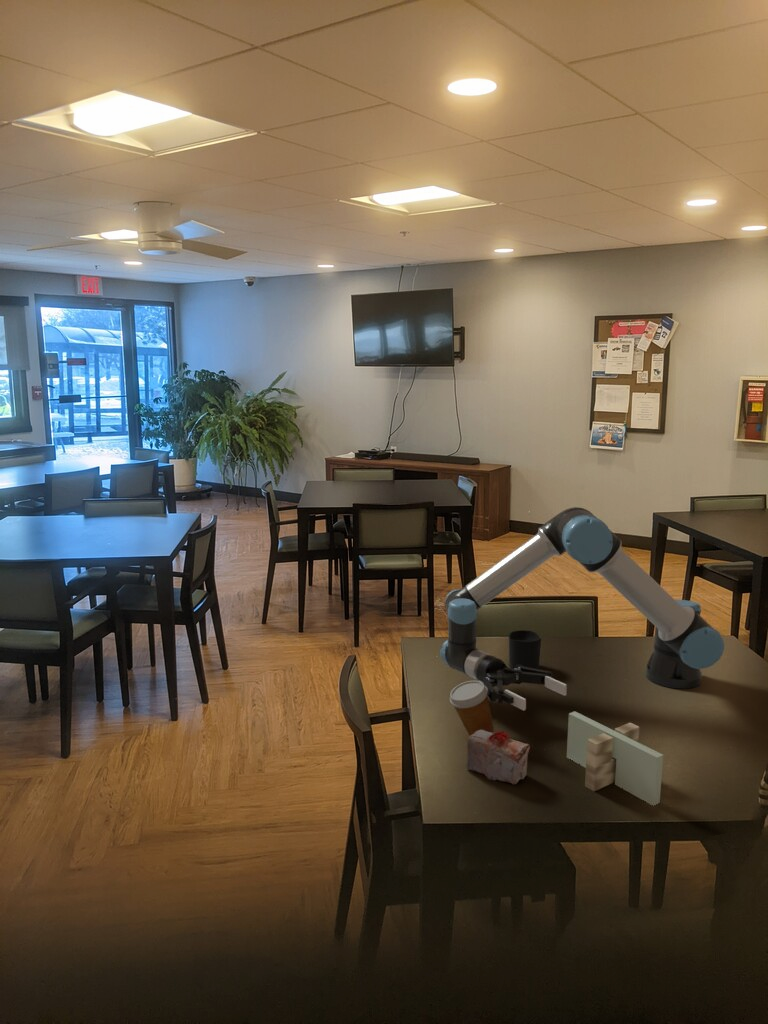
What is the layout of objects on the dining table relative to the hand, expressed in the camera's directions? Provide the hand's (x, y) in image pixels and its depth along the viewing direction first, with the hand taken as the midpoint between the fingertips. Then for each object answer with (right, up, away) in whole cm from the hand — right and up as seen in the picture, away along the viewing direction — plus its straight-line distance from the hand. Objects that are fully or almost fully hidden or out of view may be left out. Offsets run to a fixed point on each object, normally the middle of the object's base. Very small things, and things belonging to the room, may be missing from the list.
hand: (545, 697), depth 185 cm
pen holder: (+3, -2, +47) cm, 47 cm away
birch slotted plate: (+12, -15, -14) cm, 23 cm away
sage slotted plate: (+12, -15, -14) cm, 23 cm away
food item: (-13, -15, -11) cm, 23 cm away
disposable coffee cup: (-14, -10, +6) cm, 18 cm away
